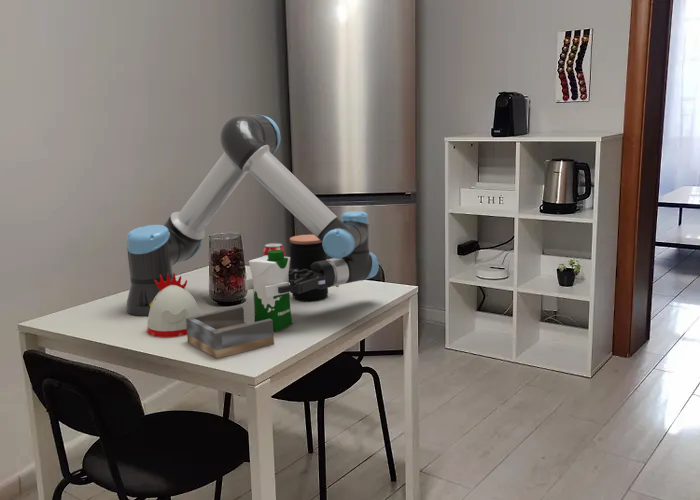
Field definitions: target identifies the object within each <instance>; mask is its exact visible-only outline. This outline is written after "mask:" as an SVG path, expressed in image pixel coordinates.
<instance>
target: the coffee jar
mask: <svg viewBox="0 0 700 500" xmlns="http://www.w3.org/2000/svg"><path fill="white" fill-rule="evenodd" d="M289 242H290V244H291V245H289V254H290V255H289V257H290V270H292V269H296V268H297V269H299V270H302V269H308V270H309V269H310V267H311V265H312V264H313V263H314V262H318V261H323V260H327V259H328V258H327V256H328V255H327V254H326V253H325V251H324V249H323V246H322V242H321V241H320V240H319V239H318V238H317V237H316V236H315V235H314V234H300V235H294V236H291V237H289ZM295 280H296V279H295ZM291 294H292V297H293V298H294V299H295V300H296V301H300V302H315V301H321V300H323V299H325V298H326V297H327V296H328V294H329V288H324V289H317V288H316V289H312V290H309V291H306V292H303V293H300V294H296V292H294V293H291Z"/></svg>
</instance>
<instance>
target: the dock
mask: <svg viewBox="0 0 700 500" xmlns="http://www.w3.org/2000/svg"><path fill="white" fill-rule="evenodd" d="M244 312H245V311H244V307H243V306H241V305H239V306H234V307H230V308H224V309H222V310H216V311H212V312H207V313H203V314H201V315H197V316H193V317H188V318H186V327H187V335H186V336H187V337H186V338H187V342H188V343H189V344H191V345H193V346H194V347H196V348H198V349H199V350H202V351H203V352H205V353H207V354H208V355H210V356H212V357H213V358H214V359H221V358H222V359H223V358H225V357H230V356H233V355H237V354H241V353H245V352H248V351H252V350H257V349H260V348H264V347H268V346H270V345H274V344H275V340H274V339H275V338H274V335H275V334H274V331H273V320H272V319H265V320H261V321H257V322H250V323H246V322H245V313H244Z"/></svg>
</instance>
